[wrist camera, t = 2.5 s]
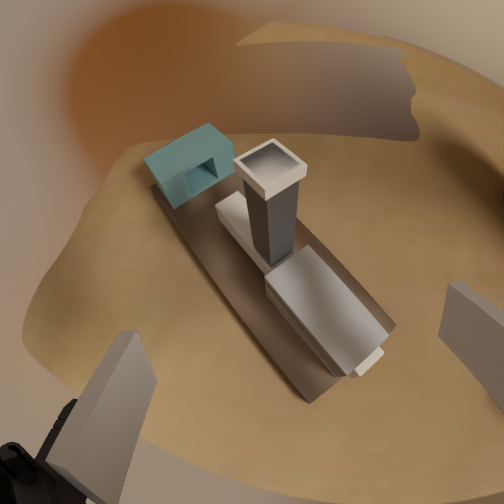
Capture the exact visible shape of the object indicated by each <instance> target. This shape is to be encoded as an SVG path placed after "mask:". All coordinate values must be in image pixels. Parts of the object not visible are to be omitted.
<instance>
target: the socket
mask: <svg viewBox="0 0 504 504" xmlns="http://www.w3.org/2000/svg"><path fill="white" fill-rule="evenodd" d="M233 159H235V152H234V146H233V142H232V141H231V140H229V139H228V138H227V137H226V136H225V135H223V134H222V133H221V132H220V131H218V130H217V129H216V128H215V127H214V126H212V125H211V124H210V123H206V124H204V125H203V126H200V127H198V128H197V129H195V130H193V131H191V132H189V133H187V134H185V135H183V136H182V137H180V138H178V139H176V140H174V141H173V142H171V143H169V144H167V145H166V146H164V147H162V148H161V149H159V150H157V151H155V152H154V153H152V154H150V155H149V156H147V157H146V158H144V161H145V163H146V165H147V167H148V169H149V171H150V173H151V175H152V177H153V179H154V181H155V183H156V184H157V186H158V187H159V189H160V190H161V192H162V193H163V195H164V196H165V198H166V199H167V200H168V202H169V203H170V205H171V206H172V208H173V209H175V208H177V207H179V206H180V205H182V204H183V203H185V202H186V201H188V200H189V199H191V198H193V197H194V196H196V195H197V194H199V193H201V192H202V191H204V190H206V189H207V188H209V187H210V186H212V185H214V184H215V183H217V182H219V181H220V180H222V179H224V178H225V177H227V176H229V175H231V174H232V173H234V172H236V171H235V169H234V164H233Z"/></svg>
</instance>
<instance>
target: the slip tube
mask: <svg viewBox="0 0 504 504" xmlns="http://www.w3.org/2000/svg"><path fill="white" fill-rule="evenodd" d="M233 164H234V169H235V171H236V172H237V173H238V174H239V175H240V176H241V177H242V179H243V185H244V191H245V197H246V198H245V197H244V196H243V195H242V194H241V193H240V192H239V191H236V192H235V193H233V194H232V195H230V196H228V197H227V198H225V199H224V200H222V201H220V202H219V203H217V204H216V205H215V207H216V210H217V213H218V216H219V220H220V221H221V222H222V224H223V225H224V226H225V227H226V228H227V230H228V231H229V232H230V233H231V235H232V236H233V237H234V238H235V239H236V241H237V242H238V243H239V244H240V245H241V247H242V248H243V249H244V250H245V251H246V253H247V254H248V255H249V256H250V257H251V259H252V260H253V261H254V262H255V263H256V265H257V266H258V267H259V268H260V269H261V271H262V272H263V273H264V274H265V275H267V274H269V273H270V272H271V271H273V270H274V269H276V268H277V267H278V266H280V265H281V264H282V263H284V262H285V261H287V260H288V259H289V258H291V257H292V256H293V255H295V254H296V252H295V251H294V250H293V243H294V233H295V222H296V211H297V199H298V186H299V180H300V179H302V178H303V177H305V176H306V172H307V164H306V163H305V162H303V161H302V160H301V159H300V158H298V157H297V156H296V155H295V154H293V153H292V152H291V151H290V150H288V149H287V148H286V147H284V146H283V145H282V144H281V143H279V142H278V141H277V140H275V139H274V138H273V139H271V140H269V141H267V142H265V143H263V144H261V145H259V146H257V147H255V148H253V149H251V150H250V151H248V152H246V153H244V154H242V155H240V156H239V157H237V158H235V159H233ZM383 354H384V352H383V350H382V349H381V348H380V347H378V348H376V349H375V350H374V351H373V352H372V353H371V354H370V355H369V356H368V357H367V358H366V359H365V360H364V361H363V362H362V363H361V364H360V365H359V366H357V367H356V368H355V369H354V370H353V371H352V372H351V373H350V374H349V376H350V377H351V378H353V377H360V376H361V375H363V374H364V373H365V372H366V371H367V370H368V369H369V368H370V367H371V366H372V365H373V364H374V363H375V362H376V361H377V360H378V359H379V358H380V357H381V356H382V355H383Z"/></svg>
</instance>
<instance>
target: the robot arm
mask: <svg viewBox="0 0 504 504" xmlns="http://www.w3.org/2000/svg"><path fill="white" fill-rule="evenodd" d="M438 336H439V337H440V338H441V340H442V341H443V342H444V343H445V344H446V345H447V346H448V347H449V348H450V349H451V350H452V352H453V353H454V354H455V355H456V356H457V357H458V358H459V359H460V360H461V362H462V363H463V364H464V365H465V366H466V367H467V368H468V370H469V371H470V372H471V373H472V374H473V375H474V377H475V378H476V379H477V380H478V381H479V382H480V384H481V385H482V386H483V387H484V388H485V390H486V391H487V392H488V393H489V395H490V396H491V397H492V398H493V400H494V401H495V402H496V403H497V405H498V406H499V407H500V408H501V410H502V411H503V412H504V312H503V311H501V310H500V309H499V308H497V307H496V306H495V305H493V304H492V303H491V302H489V301H488V300H487V299H485V298H484V297H482V296H481V295H480V294H478V293H477V292H475V291H474V290H473V289H471V288H470V287H468V286H467V285H465V284H464V283H462V282H461V281H456V282H452V283H449V284H448V287H447V293H446V299H445V304H444V309H443V314H442V319H441V324H440V328H439V333H438ZM156 384H157V379H156V377H155V374H154V372H153V370H152V368H151V365H150V363H149V360H148V358H147V356H146V353H145V351H144V348H143V346H142V343H141V340H140V338H139V335H138V333H137V331H121V332H120V333H119V335H118V336H117V338H116V339H115V341H114V342H113V344H112V345H111V347H110V348H109V350H108V352H107V353H106V355H105V356H104V358H103V359H102V361H101V363H100V364H99V366H98V367H97V369H96V371H95V372H94V374H93V376H92V377H91V379H90V380H89V382H88V384H87V385H86V387H85V389H84V390H83V392H82V394H81V396H80V397H79V399H73V400H71V401H70V402H69V403H68V404H67V405H66V406H65V407H64V408H63V410H62V411H61V413H60V415H59V416H58V420H56V421H55V423H54V425H53V428H52V429H51V430H50V432H49V434H48V436H47V438H46V439H45V441H44V443H43V445H42V447H41V449H40V450H39V452H38V454H37V456H36V458H35V459H33V458H32V457H31V456H30V455H29V454H28V453H27V451H25V449H24V448H23V447H22V446H21V445H20V444H18V443H15V442H9V443H6V444H4V445H2V446H1V447H0V504H86V503H85V502H86V499H87V497H88V498H89V499H90V500H92V501H93V502H94V503H96V504H118V503H119V499H120V496H121V492H122V488H123V485H124V482H125V478H126V475H127V472H128V468H129V465H130V462H131V458H132V455H133V452H134V449H135V446H136V443H137V439H138V437H139V433H140V430H141V427H142V424H143V421H144V418H145V415H146V412H147V409H148V406H149V404H150V401H151V398H152V395H153V392H154V389H155V386H156Z"/></svg>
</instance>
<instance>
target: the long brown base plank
mask: <svg viewBox="0 0 504 504" xmlns="http://www.w3.org/2000/svg"><path fill="white" fill-rule="evenodd" d="M150 188H151V190H152V192H153V194H154V195H155V197H156V198H157V200H158V201H159V203H160V204H161V206H162V207H163V209H164V210H165V212H166V213H167V215H168V216H169V218H170V219H171V221H172V222H173V224H174V225H175V227H176V228H177V230H178V231H179V233H180V234H181V236H182V237H183V239H184V240H185V242H186V243H187V245H188V246H189V247H190V249H191V250H192V252H193V253H194V255H195V256H196V257H197V259H198V260H199V262H200V263H201V265H202V266H203V267H204V269H205V270H206V272H207V273H208V274H209V276H210V277H211V279H212V280H213V281H214V283H215V284H216V286H217V287H218V288H219V290H220V291H221V292H222V294H223V295H224V297H225V298H226V299H227V301H228V302H229V303H230V305H231V306H232V307H233V309H234V310H235V311H236V313H237V314H238V315H239V317H240V318H241V319H242V321H243V322H244V323H245V325H246V326H247V327H248V329H249V330H250V331H251V333H252V334H253V335H254V337H255V338H256V339H257V340H258V342H259V343H260V344H261V346H262V347H263V348H264V349H265V351H266V352H267V353H268V355H269V356H270V357H271V358H272V360H273V361H274V362H275V363H276V365H277V366H278V367H279V368H280V370H281V371H282V372H283V373H284V375H285V376H286V377H287V378H288V380H289V381H290V382H291V383H292V384H293V386H294V387H295V388H296V389H297V391H298V392H299V393H300V394H301V395H302V397H303V398H304V399H305V400H306V401H307V403H309V404H310V403H312V402H313V401H314V400H315V399H317V398H318V397H319V396H320V395H322V394H323V393H324V392H325V391H327V390H328V389H329V388H330V387H331V386H333V385H334V384H335V383H336V382H337V381H339V380H340V379H341V378H342V377H343V376H347V375H349V374H350V373H351V372H352V371H353V370H354V369H355V368H356V367H357V366H359V365H360V364H361V363H362V362H363V361H364V360H365V359H366V358H367V357H368V356H369V355H370V354H371V353H372V352H373V351H374V350H375V349H376V348H378V347H379V346H380V345H381V344H382V343H383V342H384V341H385V339H386V338H387V337H388V336H389V333H390V332H391V331H392V330H393V329H394V327H395V326H396V324H395V323H394V322H393V321H392V320H391V318H390V317H389V316H388V315H387V314H386V313H385V311H384V310H383V309H382V308H381V307H380V306H379V305H378V303H377V302H376V301H375V300H374V299H373V298H372V297H371V296H370V294H369V293H368V292H367V291H366V290H365V289H364V288H363V287H362V286H361V284H360V283H359V282H358V281H357V280H356V279H355V278H354V277H353V276H352V275H351V274H350V272H349V271H348V270H347V269H346V268H345V267H344V266H343V265H342V264H341V263H340V262H339V261H338V260H337V259H336V257H335V256H334V255H333V254H332V253H331V252H330V251H329V250H328V249H327V248H326V247H325V246H324V245H323V244H322V243H321V242H320V241H319V240H318V239H317V238H316V237H315V236H314V235H313V234H312V233H311V232H310V231H309V230H308V228H307V227H306V226H305V225H304V224H303V223H302V222H301V221H300V220H299V219H298V218H297V217H296V222H295V233H294V243H293V250H294V251H295V252H296V254H295V255H293V256H292V257H291V258H289V259H288V260H287V261H285V262H284V263H282V264H281V265H280V266H278V267H277V268H276V269H274V270H273V271H271V272H270V273H269V274H267V275H265V274H264V273H263V272H262V271H261V269H260V268H259V267H258V266H257V265H256V263H255V262H254V261H253V260H252V259H251V257H250V256H249V255H248V254H247V253H246V251H245V250H244V249H243V248H242V247H241V245H240V244H239V243H238V242H237V241H236V239H235V238H234V237H233V236H232V235H231V233H230V232H229V231H228V230H227V228H226V227H225V226H224V225H223V224H222V222H221V221H220V220H219V216H218V213H217V210H216V207H215V205H216V204H217V203H219V202H220V201H222V200H224V199H225V198H227V197H228V196H230V195H232V194H233V193H235V192H236V191H239V192H240V193H241V194H242V195H243V196H244V197H245V191H244V185H243V179H242V177H241V176H240V175H239V174H238V173H237V172H234V173H232V174H231V175H229V176H227V177H225V178H224V179H222V180H220V181H219V182H217V183H215V184H214V185H212V186H210V187H209V188H207V189H206V190H204V191H202V192H201V193H199V194H197V195H196V196H194V197H193V198H191V199H189V200H188V201H186V202H185V203H183V204H182V205H180V206H179V207H177V208H175V209H173V208H172V206H171V205H170V203H169V202H168V200H167V199H166V198H165V196H164V195H163V193H162V192H161V190H160V189H159V187H158V186H157V184H155V185H153V186H152V187H150ZM245 198H246V197H245Z"/></svg>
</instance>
